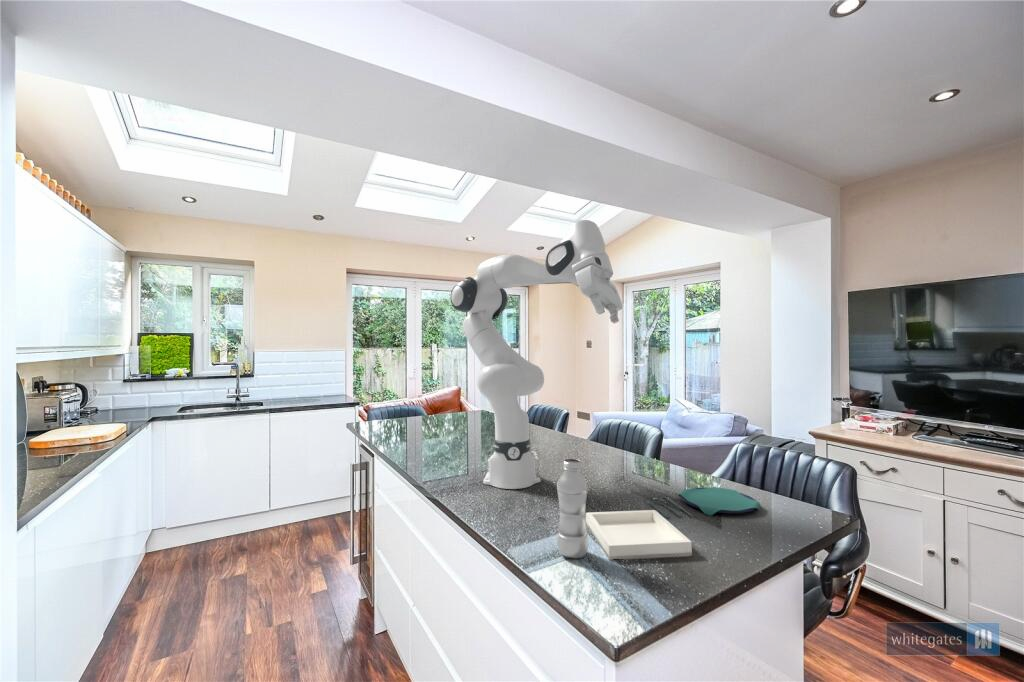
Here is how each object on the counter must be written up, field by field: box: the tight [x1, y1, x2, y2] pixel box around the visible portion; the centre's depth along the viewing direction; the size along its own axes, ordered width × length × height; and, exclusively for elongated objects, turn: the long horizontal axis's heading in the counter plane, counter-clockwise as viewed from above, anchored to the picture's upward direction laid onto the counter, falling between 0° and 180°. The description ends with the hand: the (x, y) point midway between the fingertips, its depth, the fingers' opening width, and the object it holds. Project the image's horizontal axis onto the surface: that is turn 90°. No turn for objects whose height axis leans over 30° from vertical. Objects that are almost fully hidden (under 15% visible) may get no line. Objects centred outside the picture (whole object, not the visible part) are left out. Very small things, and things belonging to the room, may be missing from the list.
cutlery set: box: [645, 486, 761, 519], centre depth 121 cm, size 20×30×2 cm, turn 97°
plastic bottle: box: [556, 458, 590, 559], centre depth 92 cm, size 6×7×20 cm
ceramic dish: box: [585, 509, 693, 561], centre depth 99 cm, size 18×18×3 cm
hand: (608, 317), depth 112 cm, fingers open, 8 cm apart
